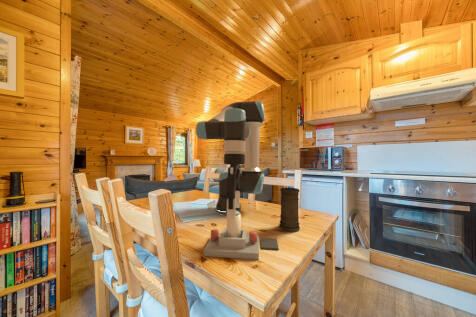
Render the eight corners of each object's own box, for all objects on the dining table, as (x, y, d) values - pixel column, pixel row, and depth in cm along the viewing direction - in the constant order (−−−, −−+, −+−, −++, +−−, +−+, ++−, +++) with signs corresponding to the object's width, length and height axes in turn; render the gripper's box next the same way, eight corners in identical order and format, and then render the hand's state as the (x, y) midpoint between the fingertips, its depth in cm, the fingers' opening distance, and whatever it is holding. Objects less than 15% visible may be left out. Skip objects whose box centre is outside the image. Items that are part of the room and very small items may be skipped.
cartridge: (227, 238, 71) (228, 209, 71) (241, 239, 70) (241, 210, 70) (225, 244, 66) (225, 213, 66) (239, 245, 65) (240, 214, 65)
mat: (261, 238, 75) (261, 237, 75) (276, 239, 74) (276, 238, 74) (261, 248, 67) (261, 247, 67) (278, 250, 66) (278, 248, 66)
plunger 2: (249, 238, 69) (249, 231, 69) (257, 239, 69) (257, 231, 69) (248, 242, 66) (249, 234, 66) (257, 242, 66) (257, 234, 66)
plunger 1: (211, 236, 70) (211, 229, 70) (219, 237, 70) (219, 229, 70) (209, 240, 68) (209, 232, 68) (217, 240, 67) (217, 232, 67)
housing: (213, 237, 76) (213, 224, 76) (258, 239, 74) (258, 227, 74) (203, 255, 62) (203, 240, 62) (258, 259, 60) (258, 244, 60)
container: (300, 232, 81) (301, 191, 81) (279, 231, 83) (280, 190, 83) (298, 225, 90) (299, 187, 90) (279, 223, 92) (279, 186, 91)
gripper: (229, 153, 80) (228, 203, 80) (216, 152, 55) (215, 224, 56) (247, 153, 79) (246, 204, 80) (242, 152, 55) (241, 225, 55)
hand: (233, 212), depth 68 cm, fingers open, 13 cm apart
